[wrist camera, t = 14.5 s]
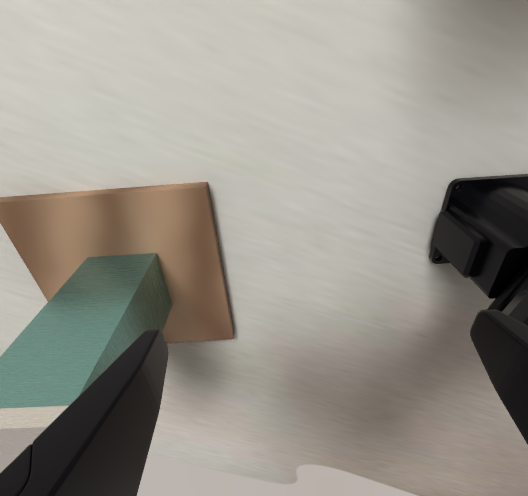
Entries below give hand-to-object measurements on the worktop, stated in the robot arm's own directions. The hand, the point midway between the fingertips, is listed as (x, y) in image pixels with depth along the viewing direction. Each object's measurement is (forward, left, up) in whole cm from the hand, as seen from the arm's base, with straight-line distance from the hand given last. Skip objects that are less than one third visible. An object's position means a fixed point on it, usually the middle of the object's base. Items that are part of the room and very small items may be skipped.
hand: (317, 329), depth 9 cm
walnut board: (+12, +7, -14) cm, 19 cm away
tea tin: (+12, +7, -12) cm, 18 cm away
